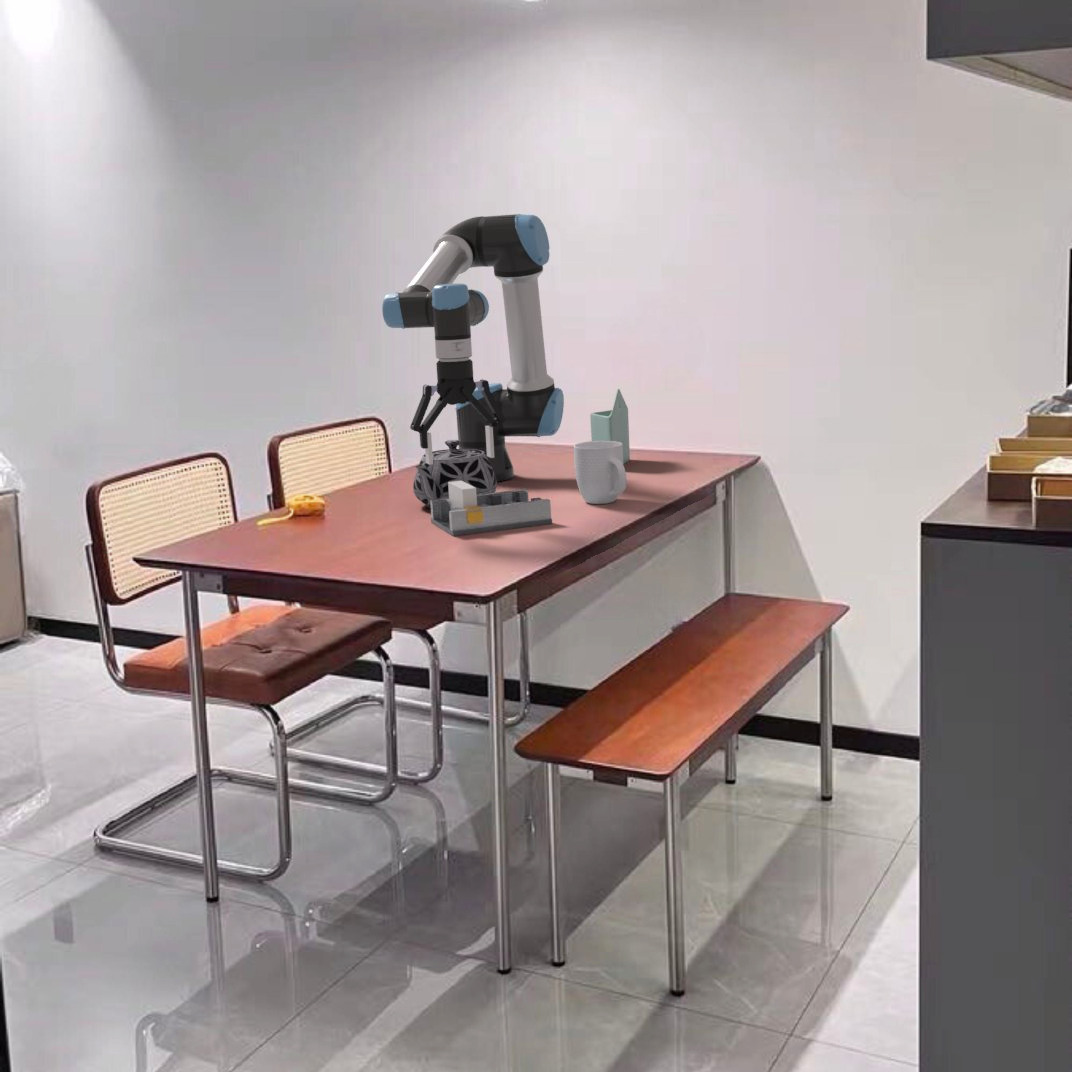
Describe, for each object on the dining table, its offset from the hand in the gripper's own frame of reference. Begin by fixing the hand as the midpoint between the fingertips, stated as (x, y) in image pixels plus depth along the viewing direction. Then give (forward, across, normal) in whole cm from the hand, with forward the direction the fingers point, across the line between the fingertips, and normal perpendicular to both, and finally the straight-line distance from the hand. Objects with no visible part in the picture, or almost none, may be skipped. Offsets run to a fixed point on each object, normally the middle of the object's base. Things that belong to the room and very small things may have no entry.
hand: (460, 460), depth 311 cm
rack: (+14, +6, 0) cm, 15 cm away
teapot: (+14, +5, +23) cm, 28 cm away
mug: (+14, +35, +7) cm, 39 cm away
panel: (+13, 0, 0) cm, 13 cm away
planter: (+14, +55, +51) cm, 76 cm away
